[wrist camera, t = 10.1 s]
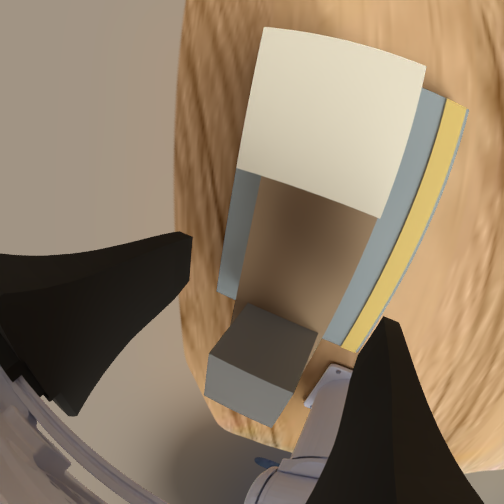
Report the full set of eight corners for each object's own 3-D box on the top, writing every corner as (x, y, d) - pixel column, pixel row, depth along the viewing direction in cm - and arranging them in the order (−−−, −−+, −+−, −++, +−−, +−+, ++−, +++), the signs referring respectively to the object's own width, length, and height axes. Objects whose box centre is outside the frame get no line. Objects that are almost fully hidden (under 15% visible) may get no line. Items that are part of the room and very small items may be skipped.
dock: (459, 110, 12) (469, 109, 10) (360, 335, 21) (357, 353, 20) (272, 51, 15) (259, 45, 13) (228, 278, 25) (215, 292, 23)
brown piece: (406, 97, 12) (419, 88, 8) (320, 325, 20) (300, 376, 16) (316, 69, 13) (288, 51, 9) (258, 299, 21) (226, 342, 17)
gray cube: (318, 332, 14) (293, 393, 11) (296, 375, 16) (271, 427, 13) (247, 302, 15) (208, 353, 12) (237, 348, 17) (204, 395, 14)
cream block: (409, 85, 8) (426, 66, 4) (380, 183, 10) (380, 218, 7) (304, 54, 9) (264, 27, 6) (283, 150, 11) (236, 168, 8)
